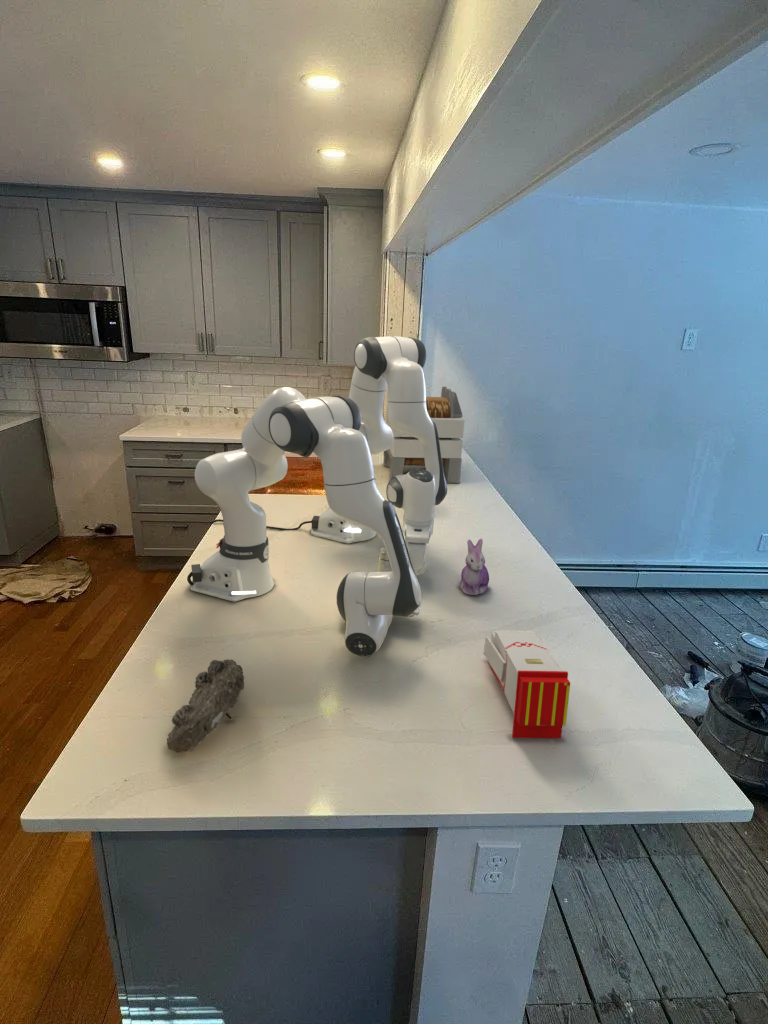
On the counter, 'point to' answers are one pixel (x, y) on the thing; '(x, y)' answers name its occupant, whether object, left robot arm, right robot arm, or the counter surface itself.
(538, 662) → the toy
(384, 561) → the jar
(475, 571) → the figurine
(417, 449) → the transformer
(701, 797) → the counter surface
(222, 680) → the fossil
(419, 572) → the lid
